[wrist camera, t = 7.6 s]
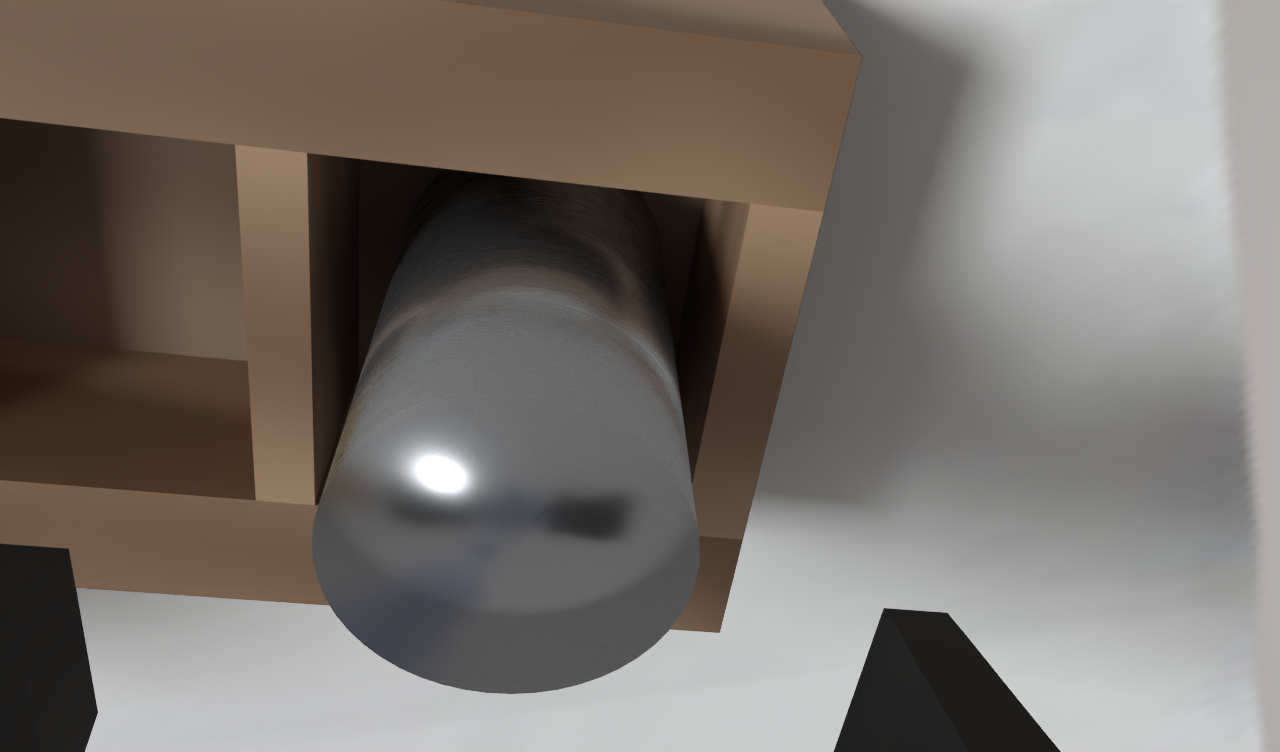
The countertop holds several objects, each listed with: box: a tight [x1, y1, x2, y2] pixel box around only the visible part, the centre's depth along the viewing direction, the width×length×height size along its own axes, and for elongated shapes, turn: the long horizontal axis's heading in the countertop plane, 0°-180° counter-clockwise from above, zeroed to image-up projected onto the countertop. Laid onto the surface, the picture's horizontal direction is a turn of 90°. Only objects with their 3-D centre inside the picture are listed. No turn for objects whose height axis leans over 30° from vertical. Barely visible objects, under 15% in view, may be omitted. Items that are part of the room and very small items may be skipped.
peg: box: [312, 169, 700, 694], centre depth 14 cm, size 4×4×7 cm
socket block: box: [0, 0, 862, 633], centre depth 16 cm, size 9×13×4 cm
